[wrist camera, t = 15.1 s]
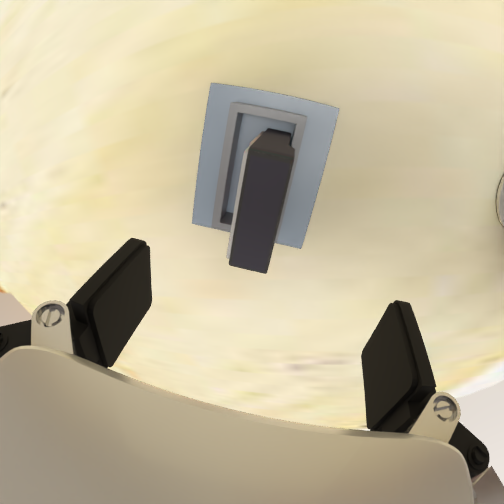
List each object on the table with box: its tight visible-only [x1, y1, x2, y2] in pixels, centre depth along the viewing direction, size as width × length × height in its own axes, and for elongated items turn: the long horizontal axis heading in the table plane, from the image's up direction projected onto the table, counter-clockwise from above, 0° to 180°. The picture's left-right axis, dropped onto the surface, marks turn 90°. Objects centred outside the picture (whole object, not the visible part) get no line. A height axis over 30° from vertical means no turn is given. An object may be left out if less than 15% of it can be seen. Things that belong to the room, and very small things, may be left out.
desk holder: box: [192, 83, 339, 249], centre depth 36 cm, size 16×20×4 cm
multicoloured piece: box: [227, 128, 295, 274], centre depth 30 cm, size 11×4×15 cm, turn 170°
